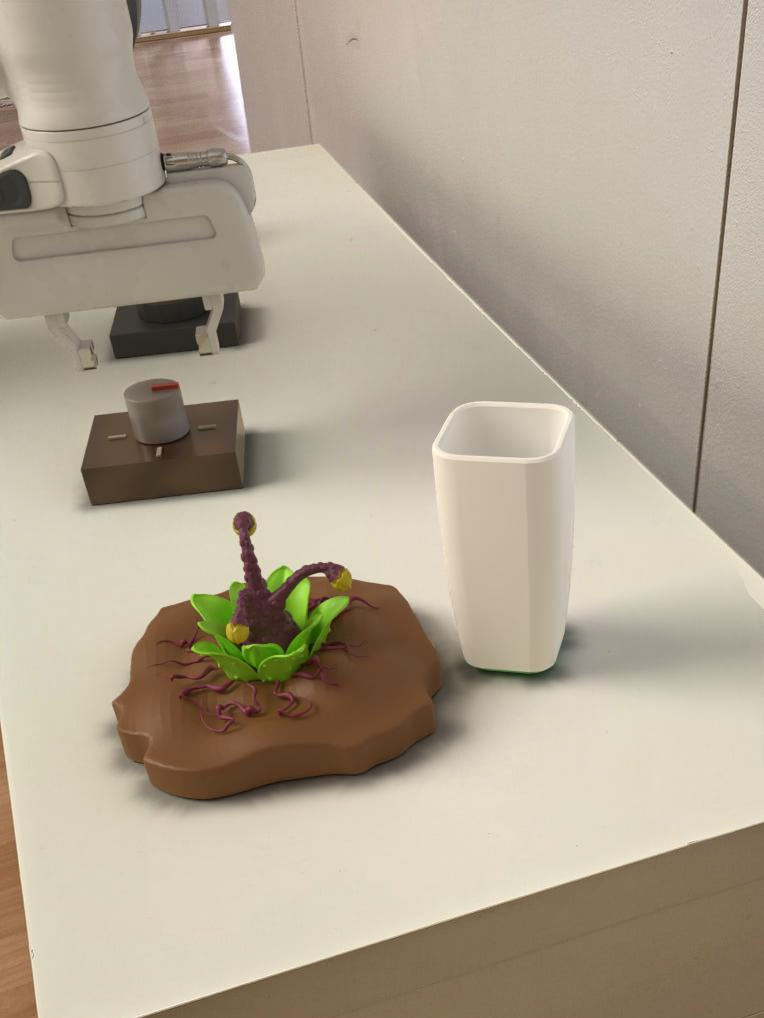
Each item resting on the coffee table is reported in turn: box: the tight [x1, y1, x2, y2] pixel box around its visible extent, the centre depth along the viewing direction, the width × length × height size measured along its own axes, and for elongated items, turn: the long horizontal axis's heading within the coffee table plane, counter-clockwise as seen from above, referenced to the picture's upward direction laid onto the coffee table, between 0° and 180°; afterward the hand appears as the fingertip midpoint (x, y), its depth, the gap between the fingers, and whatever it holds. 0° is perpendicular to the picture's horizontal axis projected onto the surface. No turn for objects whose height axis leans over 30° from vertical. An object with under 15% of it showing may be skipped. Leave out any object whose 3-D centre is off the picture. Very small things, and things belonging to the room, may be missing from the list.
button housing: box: [108, 292, 242, 359], centre depth 120 cm, size 12×10×4 cm
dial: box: [123, 378, 189, 444], centre depth 97 cm, size 4×4×4 cm
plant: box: [111, 510, 443, 800], centre depth 73 cm, size 20×20×11 cm
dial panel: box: [80, 398, 246, 506], centre depth 99 cm, size 12×10×3 cm
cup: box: [431, 400, 576, 675], centre depth 73 cm, size 7×7×15 cm
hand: (149, 360), depth 94 cm, fingers open, 8 cm apart
